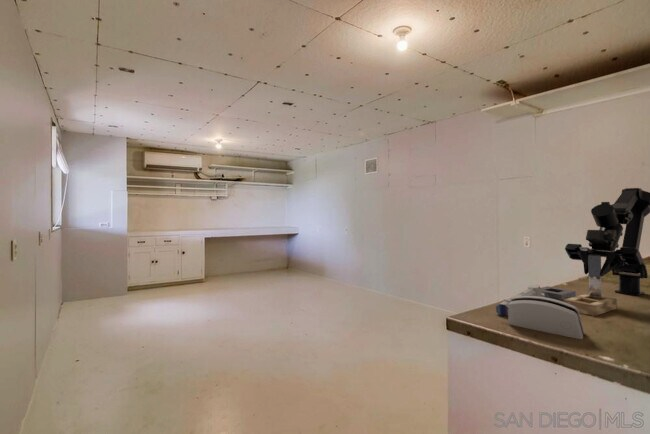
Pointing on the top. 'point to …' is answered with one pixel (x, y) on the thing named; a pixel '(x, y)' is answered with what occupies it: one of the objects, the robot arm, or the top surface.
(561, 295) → the socket
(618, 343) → the top surface
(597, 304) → the rack
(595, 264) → the tall grey square pillar
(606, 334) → the top surface
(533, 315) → the grey arched slab
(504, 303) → the white bulb-headed handheld tool
